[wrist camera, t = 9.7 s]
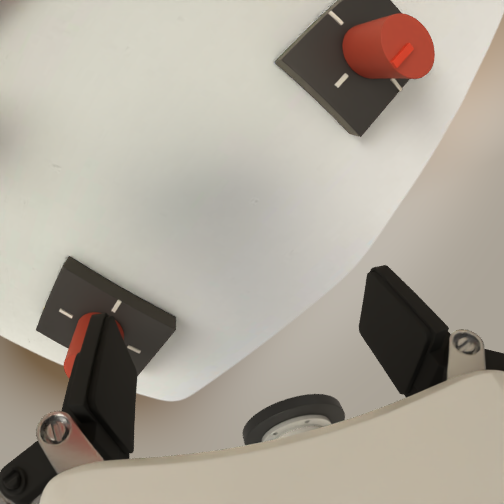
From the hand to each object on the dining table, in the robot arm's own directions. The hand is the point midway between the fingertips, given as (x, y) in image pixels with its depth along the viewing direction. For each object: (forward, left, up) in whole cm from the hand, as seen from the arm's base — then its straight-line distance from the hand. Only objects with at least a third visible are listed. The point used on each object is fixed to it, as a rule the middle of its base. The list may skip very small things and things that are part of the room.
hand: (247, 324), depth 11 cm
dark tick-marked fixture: (+1, +17, -17) cm, 23 cm away
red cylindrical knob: (-2, -17, -15) cm, 23 cm away
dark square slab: (-2, -17, -17) cm, 24 cm away
